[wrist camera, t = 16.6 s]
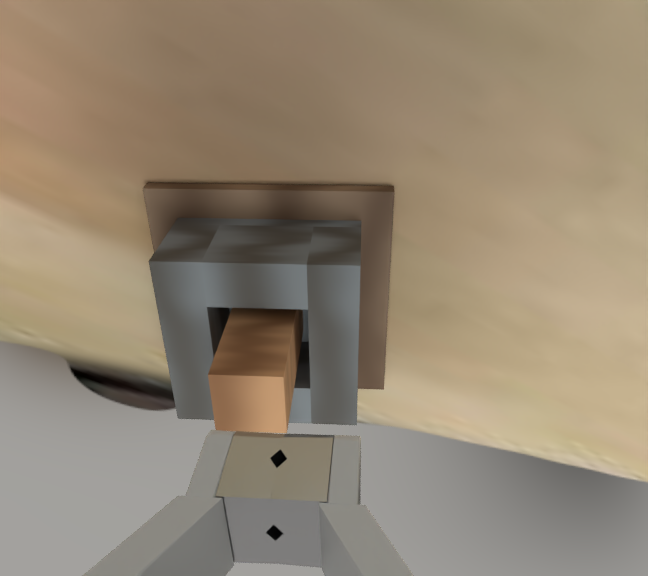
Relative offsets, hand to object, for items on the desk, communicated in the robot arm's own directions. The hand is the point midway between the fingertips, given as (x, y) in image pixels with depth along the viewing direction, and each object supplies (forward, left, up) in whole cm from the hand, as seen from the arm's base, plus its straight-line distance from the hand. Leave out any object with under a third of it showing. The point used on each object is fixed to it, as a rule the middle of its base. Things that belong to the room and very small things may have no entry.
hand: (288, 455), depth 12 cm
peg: (+5, +13, -26) cm, 29 cm away
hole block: (+5, +13, -28) cm, 31 cm away
